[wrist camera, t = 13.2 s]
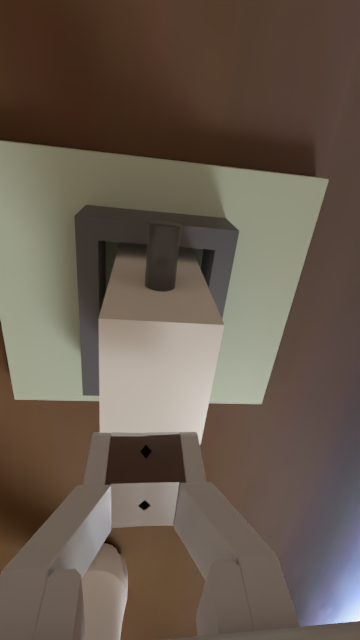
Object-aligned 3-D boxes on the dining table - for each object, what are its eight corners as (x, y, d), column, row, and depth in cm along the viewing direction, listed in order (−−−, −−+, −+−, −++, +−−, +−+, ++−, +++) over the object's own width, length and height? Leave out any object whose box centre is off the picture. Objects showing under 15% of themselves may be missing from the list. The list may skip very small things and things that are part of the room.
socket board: (316, 176, 18) (362, 185, 14) (255, 391, 26) (275, 435, 22) (-18, 137, 16) (-71, 135, 12) (22, 385, 24) (-3, 433, 20)
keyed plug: (197, 203, 17) (239, 253, 9) (178, 344, 21) (197, 461, 13) (121, 195, 17) (97, 241, 9) (118, 341, 21) (100, 461, 13)
